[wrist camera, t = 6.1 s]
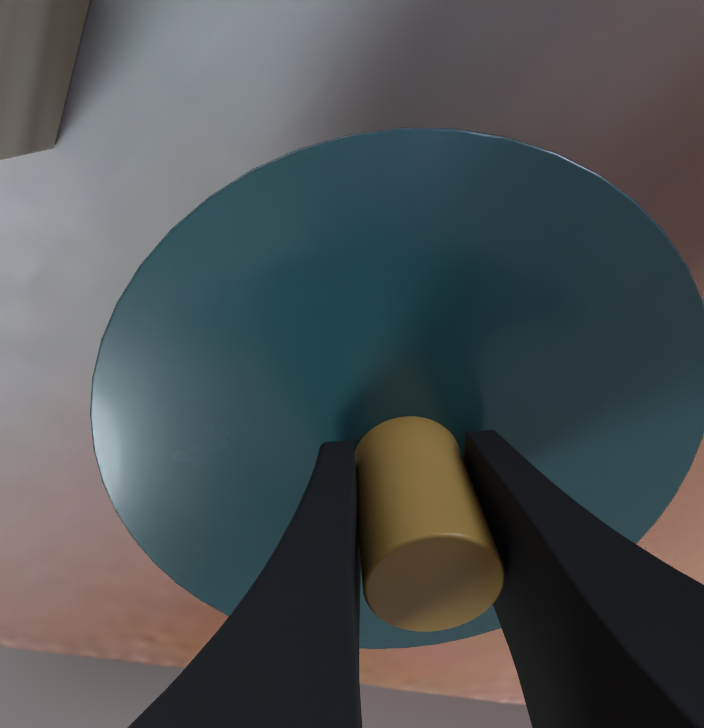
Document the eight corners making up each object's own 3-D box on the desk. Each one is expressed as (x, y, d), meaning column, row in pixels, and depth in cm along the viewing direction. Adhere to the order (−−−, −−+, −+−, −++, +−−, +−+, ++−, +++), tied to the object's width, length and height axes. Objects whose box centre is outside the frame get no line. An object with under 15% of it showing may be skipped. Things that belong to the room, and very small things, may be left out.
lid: (762, 102, 10) (1069, 113, 6) (621, 596, 16) (720, 764, 12) (19, 148, 9) (-203, 192, 5) (177, 632, 16) (129, 815, 12)
